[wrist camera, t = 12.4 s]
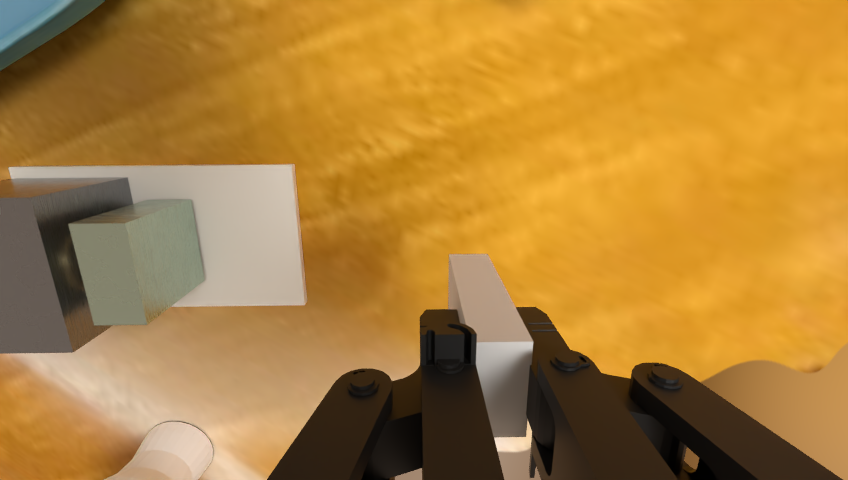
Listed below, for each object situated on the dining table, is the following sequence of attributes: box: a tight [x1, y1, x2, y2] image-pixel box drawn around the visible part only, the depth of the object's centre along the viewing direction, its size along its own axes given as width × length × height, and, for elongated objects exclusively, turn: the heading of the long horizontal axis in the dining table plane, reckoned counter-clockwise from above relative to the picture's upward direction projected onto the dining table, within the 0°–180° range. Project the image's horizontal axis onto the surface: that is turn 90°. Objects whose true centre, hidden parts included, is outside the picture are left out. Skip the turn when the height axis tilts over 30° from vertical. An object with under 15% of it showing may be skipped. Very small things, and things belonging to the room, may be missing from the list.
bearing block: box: [0, 177, 133, 353], centre depth 35 cm, size 10×12×10 cm
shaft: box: [68, 199, 205, 325], centre depth 35 cm, size 18×8×9 cm, turn 90°
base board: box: [8, 164, 307, 307], centre depth 40 cm, size 26×14×1 cm, turn 90°
